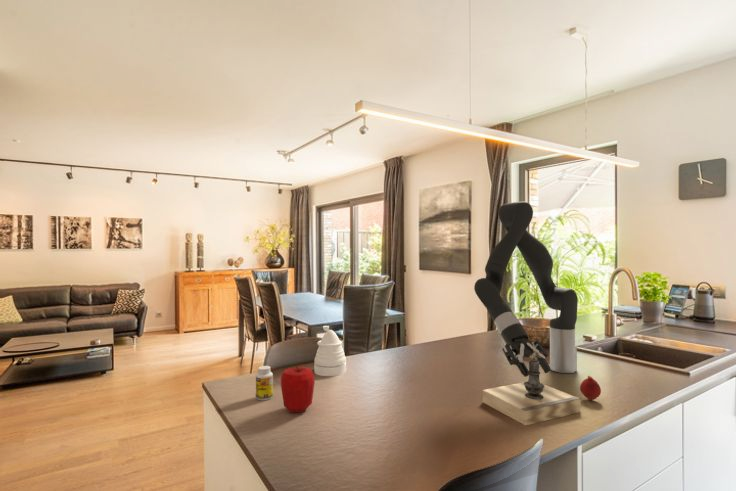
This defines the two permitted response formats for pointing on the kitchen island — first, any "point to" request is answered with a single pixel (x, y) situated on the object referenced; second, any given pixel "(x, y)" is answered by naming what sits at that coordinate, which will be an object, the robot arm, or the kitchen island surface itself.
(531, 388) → the dark grey chess piece
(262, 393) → the supplement bottle
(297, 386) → the apple
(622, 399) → the kitchen island surface
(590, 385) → the onion
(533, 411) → the platform
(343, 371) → the honey pot
